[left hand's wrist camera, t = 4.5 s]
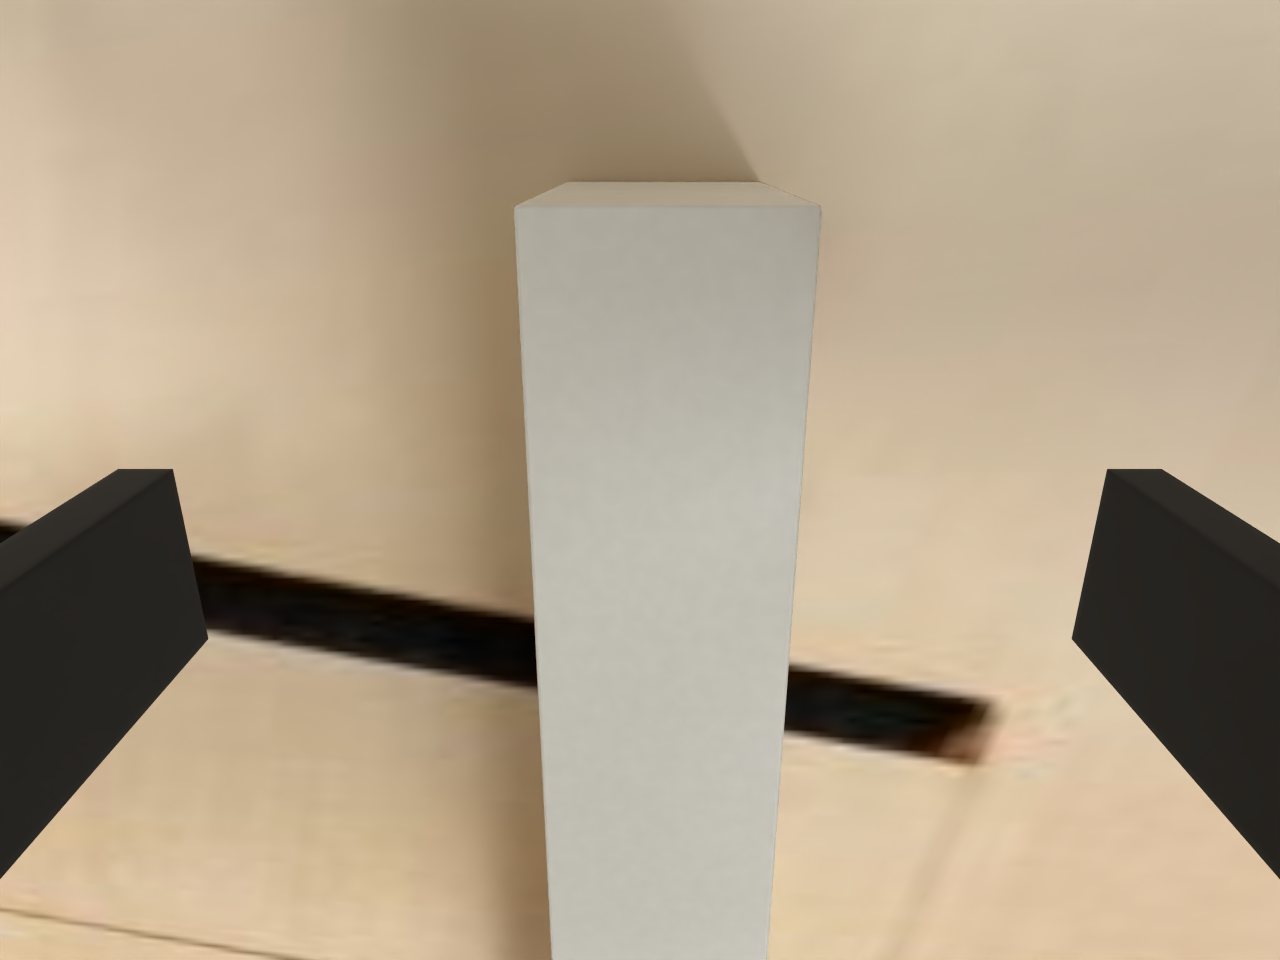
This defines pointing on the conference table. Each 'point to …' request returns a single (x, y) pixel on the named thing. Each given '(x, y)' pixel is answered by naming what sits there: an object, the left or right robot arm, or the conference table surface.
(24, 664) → the left robot arm
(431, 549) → the conference table surface
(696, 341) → the post
